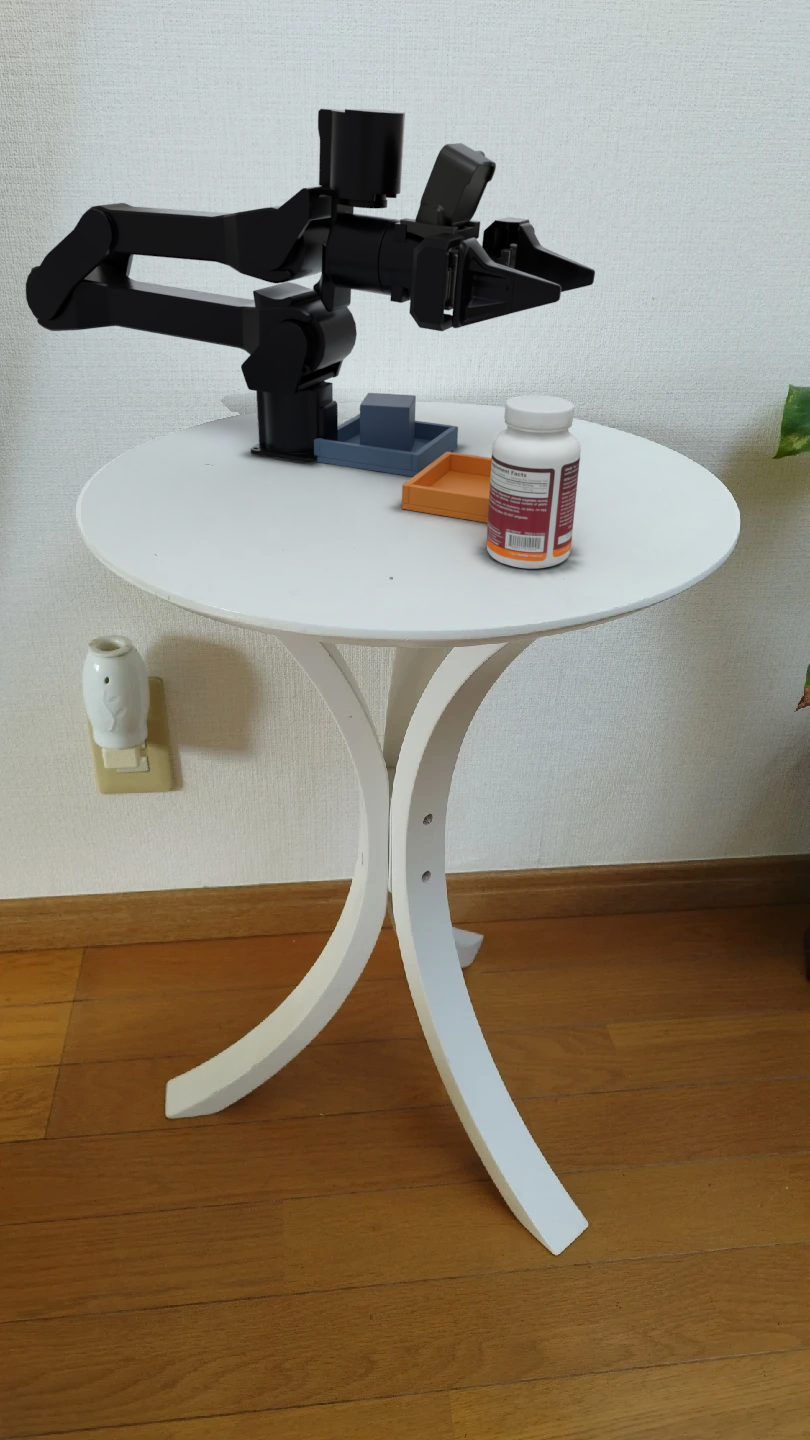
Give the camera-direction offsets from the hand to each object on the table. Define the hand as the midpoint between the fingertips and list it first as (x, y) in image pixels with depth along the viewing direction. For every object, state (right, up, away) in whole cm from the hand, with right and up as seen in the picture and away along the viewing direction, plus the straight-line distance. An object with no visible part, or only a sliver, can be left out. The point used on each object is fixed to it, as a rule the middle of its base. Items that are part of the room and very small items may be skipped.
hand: (577, 285), depth 78 cm
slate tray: (-15, -8, +17) cm, 24 cm away
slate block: (-15, -8, +17) cm, 24 cm away
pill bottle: (-4, -21, -3) cm, 22 cm away
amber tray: (-7, -15, +7) cm, 18 cm away
